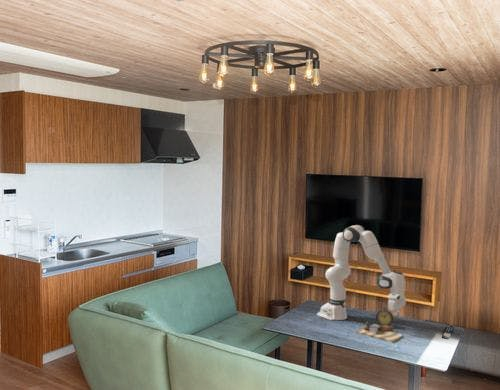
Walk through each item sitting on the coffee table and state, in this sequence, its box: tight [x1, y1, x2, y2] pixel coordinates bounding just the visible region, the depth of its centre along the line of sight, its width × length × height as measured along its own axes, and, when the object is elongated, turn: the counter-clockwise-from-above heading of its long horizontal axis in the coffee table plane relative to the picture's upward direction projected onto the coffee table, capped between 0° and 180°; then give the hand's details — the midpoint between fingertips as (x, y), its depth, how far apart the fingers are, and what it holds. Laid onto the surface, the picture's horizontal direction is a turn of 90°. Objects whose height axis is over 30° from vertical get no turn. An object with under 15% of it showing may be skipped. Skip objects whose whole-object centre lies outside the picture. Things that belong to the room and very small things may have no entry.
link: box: [363, 321, 394, 332], centre depth 323 cm, size 19×4×5 cm, turn 84°
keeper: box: [369, 323, 382, 334], centre depth 320 cm, size 5×6×4 cm
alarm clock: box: [375, 303, 394, 326], centre depth 335 cm, size 11×5×16 cm, turn 62°
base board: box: [356, 327, 404, 344], centre depth 318 cm, size 26×15×1 cm, turn 49°
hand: (397, 314), depth 328 cm, fingers closed
